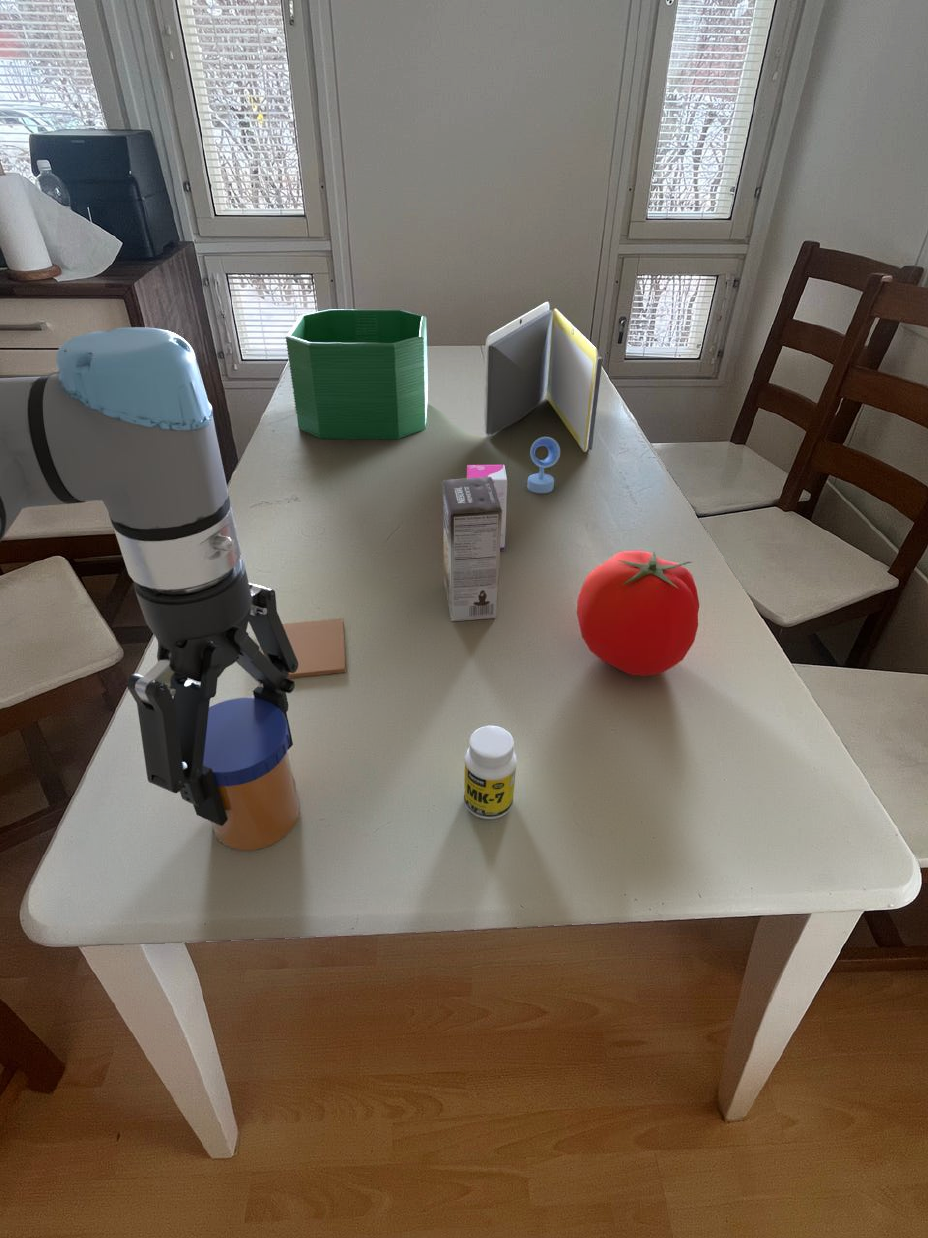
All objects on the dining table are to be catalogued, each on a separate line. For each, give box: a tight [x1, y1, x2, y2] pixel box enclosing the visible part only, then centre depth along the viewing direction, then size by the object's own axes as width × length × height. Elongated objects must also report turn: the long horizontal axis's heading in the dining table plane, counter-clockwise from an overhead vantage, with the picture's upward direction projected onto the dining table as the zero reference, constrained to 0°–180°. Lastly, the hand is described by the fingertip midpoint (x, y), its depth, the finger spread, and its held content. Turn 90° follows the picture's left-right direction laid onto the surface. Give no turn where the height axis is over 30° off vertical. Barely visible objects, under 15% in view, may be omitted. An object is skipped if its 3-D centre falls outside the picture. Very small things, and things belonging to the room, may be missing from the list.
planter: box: [284, 309, 429, 440], centre depth 141 cm, size 26×26×18 cm
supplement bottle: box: [463, 725, 517, 820], centre depth 64 cm, size 5×5×8 cm
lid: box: [203, 697, 291, 786], centre depth 59 cm, size 9×9×2 cm
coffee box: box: [442, 477, 502, 622], centre depth 88 cm, size 9×6×16 cm
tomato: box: [576, 549, 700, 677], centre depth 81 cm, size 16×14×14 cm
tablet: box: [483, 301, 603, 453], centre depth 139 cm, size 35×22×20 cm, turn 10°
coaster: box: [260, 617, 347, 679], centre depth 85 cm, size 10×10×1 cm
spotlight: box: [526, 436, 561, 494], centre depth 117 cm, size 5×10×7 cm
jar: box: [210, 749, 301, 852], centre depth 62 cm, size 8×8×10 cm
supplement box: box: [466, 464, 508, 552], centre depth 102 cm, size 6×6×12 cm
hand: (247, 778), depth 62 cm, fingers closed on lid, 9 cm apart
